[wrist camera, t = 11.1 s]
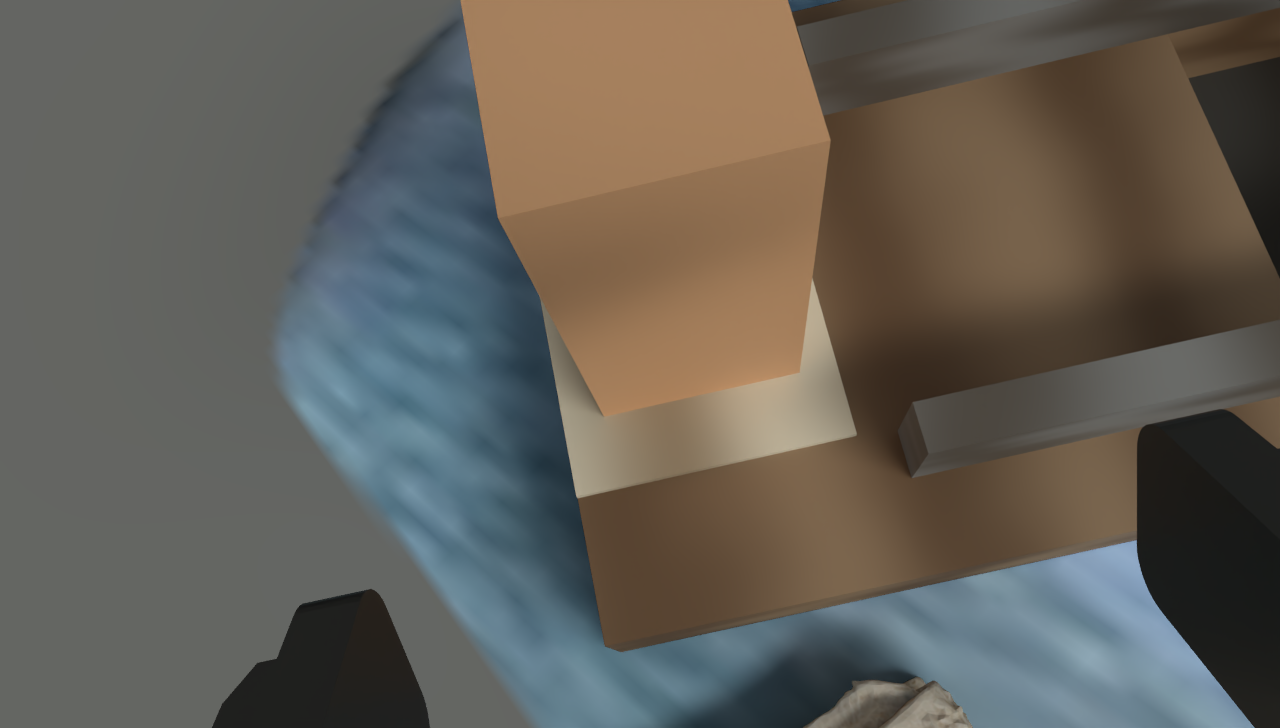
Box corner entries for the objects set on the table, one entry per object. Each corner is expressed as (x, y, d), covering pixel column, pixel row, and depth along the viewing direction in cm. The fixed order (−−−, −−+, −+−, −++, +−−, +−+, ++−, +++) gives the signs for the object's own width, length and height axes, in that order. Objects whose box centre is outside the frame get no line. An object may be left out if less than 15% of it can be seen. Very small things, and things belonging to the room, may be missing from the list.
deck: (1347, -59, 31) (1467, -213, 26) (1619, 434, 25) (1840, 367, 20) (524, 137, 32) (478, 27, 27) (621, 652, 26) (588, 640, 21)
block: (752, 198, 27) (750, -122, 16) (799, 372, 25) (830, 140, 15) (569, 241, 27) (452, -49, 16) (604, 417, 25) (497, 218, 15)
